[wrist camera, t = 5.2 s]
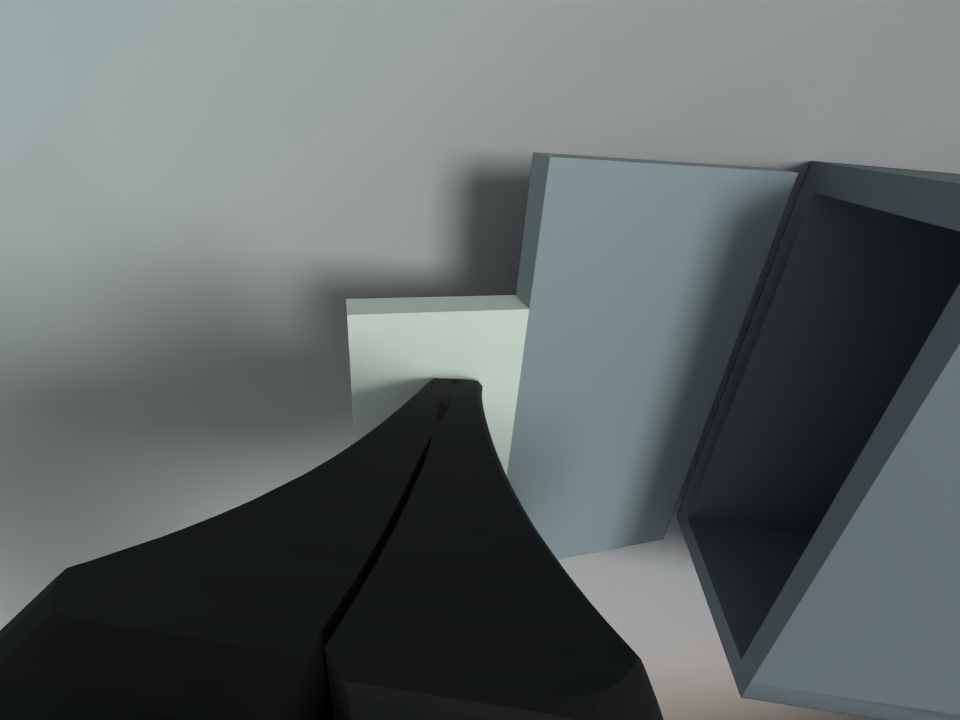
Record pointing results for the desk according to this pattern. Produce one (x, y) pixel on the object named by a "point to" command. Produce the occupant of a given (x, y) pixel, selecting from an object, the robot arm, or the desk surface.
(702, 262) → the carton flap
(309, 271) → the desk surface
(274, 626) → the robot arm
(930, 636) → the carton
